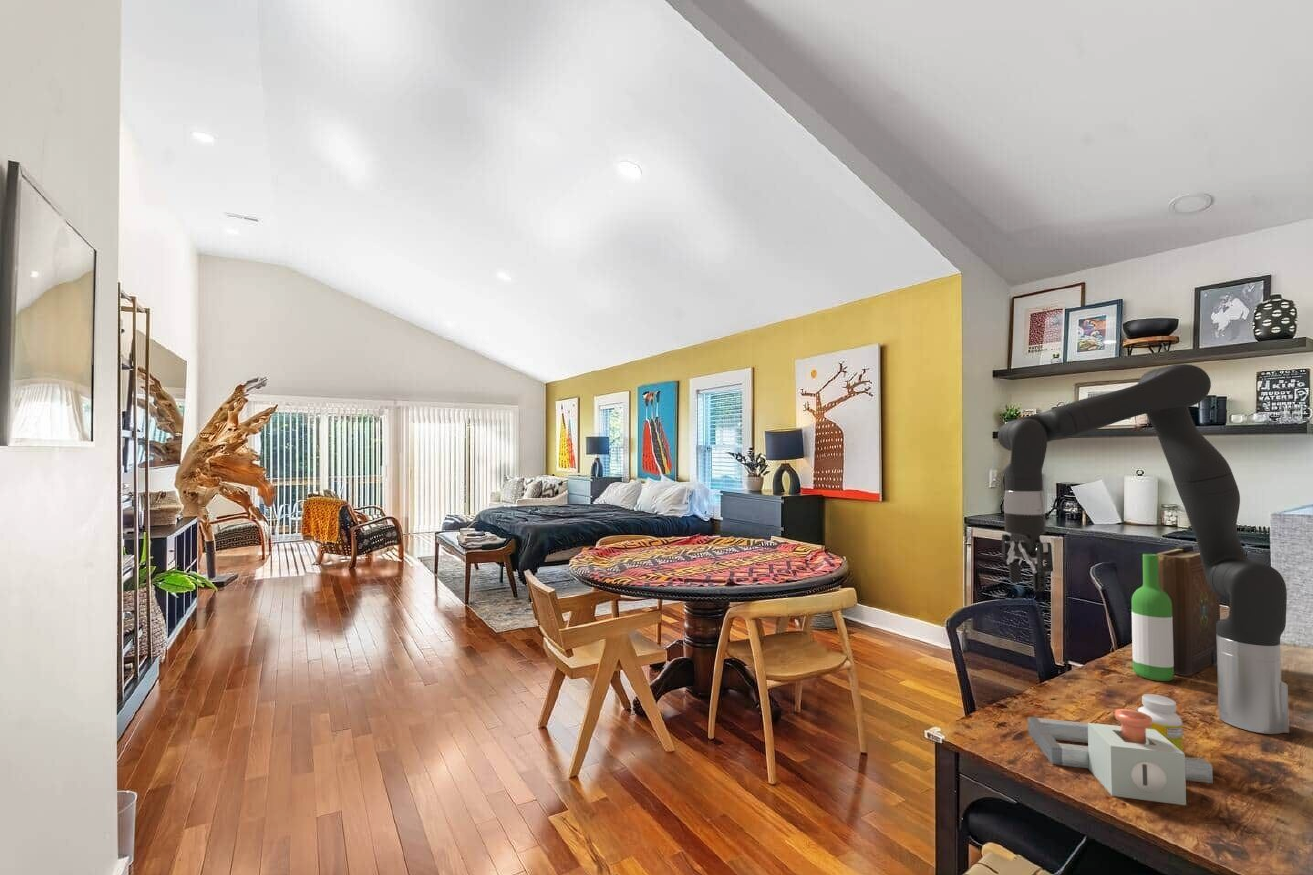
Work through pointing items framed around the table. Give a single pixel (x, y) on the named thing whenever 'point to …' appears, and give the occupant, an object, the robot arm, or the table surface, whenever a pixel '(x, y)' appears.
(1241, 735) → the table surface
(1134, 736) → the plunger
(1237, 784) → the table surface
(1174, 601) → the decorative book
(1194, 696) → the table surface
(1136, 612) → the wine bottle
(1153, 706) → the pill bottle
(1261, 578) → the robot arm
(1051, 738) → the rail
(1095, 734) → the plunger housing block
